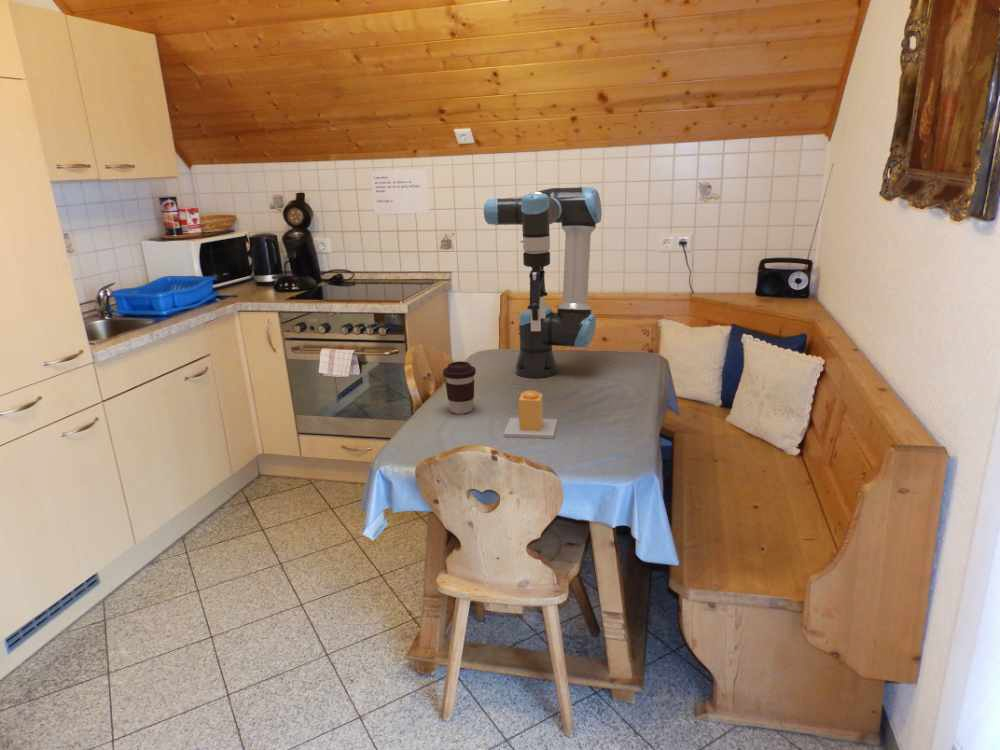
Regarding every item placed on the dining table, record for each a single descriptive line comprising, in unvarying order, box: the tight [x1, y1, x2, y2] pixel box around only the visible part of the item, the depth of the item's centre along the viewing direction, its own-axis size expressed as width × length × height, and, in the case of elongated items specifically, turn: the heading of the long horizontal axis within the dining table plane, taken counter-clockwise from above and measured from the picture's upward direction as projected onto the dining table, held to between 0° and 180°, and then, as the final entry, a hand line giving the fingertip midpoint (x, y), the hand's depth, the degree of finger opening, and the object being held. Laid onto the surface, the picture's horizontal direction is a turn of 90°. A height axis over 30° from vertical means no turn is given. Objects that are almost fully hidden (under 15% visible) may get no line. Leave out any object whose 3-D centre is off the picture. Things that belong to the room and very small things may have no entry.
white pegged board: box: [503, 417, 558, 440], centre depth 193 cm, size 12×14×7 cm
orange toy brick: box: [518, 389, 544, 431], centre depth 192 cm, size 6×6×10 cm
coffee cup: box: [442, 361, 477, 415], centre depth 208 cm, size 10×10×15 cm
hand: (538, 324), depth 196 cm, fingers open, 13 cm apart
